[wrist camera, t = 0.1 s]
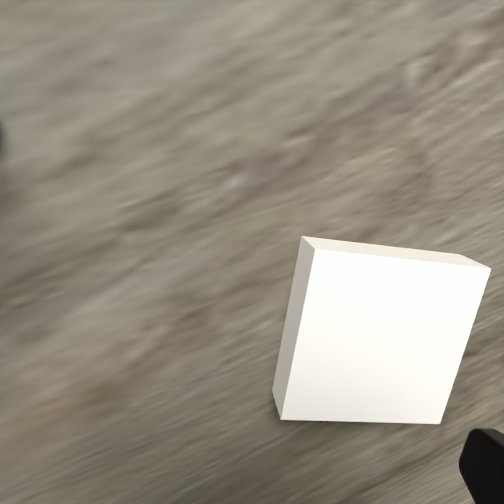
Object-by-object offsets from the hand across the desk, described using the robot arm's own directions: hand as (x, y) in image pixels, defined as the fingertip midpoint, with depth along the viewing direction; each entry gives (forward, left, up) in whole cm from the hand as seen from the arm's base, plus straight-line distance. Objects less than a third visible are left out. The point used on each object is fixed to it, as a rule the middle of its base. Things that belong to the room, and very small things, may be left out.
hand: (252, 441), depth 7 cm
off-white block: (-4, -10, -15) cm, 19 cm away
